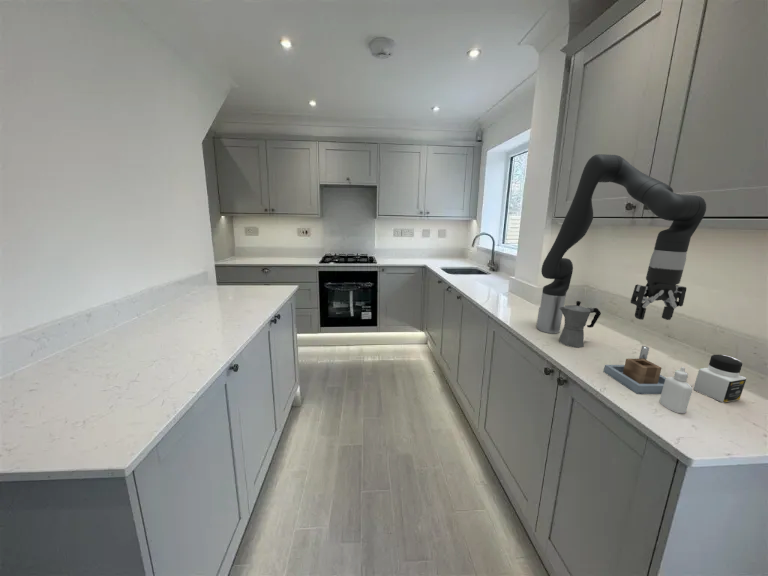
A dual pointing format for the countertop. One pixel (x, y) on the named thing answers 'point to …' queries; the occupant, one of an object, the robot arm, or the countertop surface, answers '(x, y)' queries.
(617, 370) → the tray
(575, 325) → the coffeepot
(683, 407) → the eye dropper bottle
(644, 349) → the grey metal coffee tamper
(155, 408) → the countertop surface
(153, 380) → the countertop surface
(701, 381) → the medicine bottle
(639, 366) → the block
